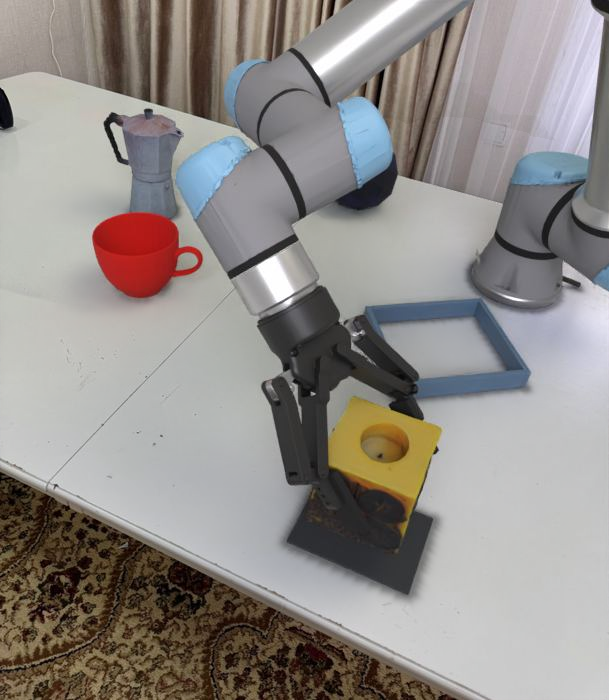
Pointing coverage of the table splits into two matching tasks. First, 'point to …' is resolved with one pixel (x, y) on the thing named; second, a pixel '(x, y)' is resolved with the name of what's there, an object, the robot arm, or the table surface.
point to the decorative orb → (372, 190)
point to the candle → (378, 471)
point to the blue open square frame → (458, 308)
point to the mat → (366, 551)
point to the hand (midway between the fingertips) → (395, 489)
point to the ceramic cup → (140, 252)
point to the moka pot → (148, 159)
